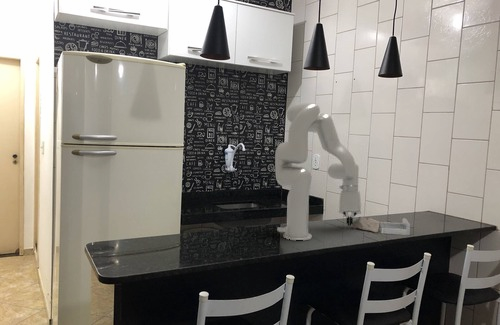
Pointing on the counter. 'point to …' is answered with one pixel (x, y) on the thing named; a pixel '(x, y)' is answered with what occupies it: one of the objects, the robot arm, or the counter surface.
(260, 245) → the counter surface
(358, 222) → the concrete fragment
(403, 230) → the dock
